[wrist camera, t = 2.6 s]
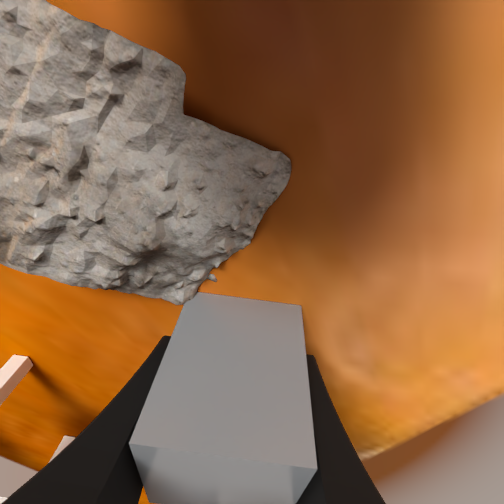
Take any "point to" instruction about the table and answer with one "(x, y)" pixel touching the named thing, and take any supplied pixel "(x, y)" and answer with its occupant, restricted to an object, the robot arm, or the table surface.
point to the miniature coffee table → (8, 379)
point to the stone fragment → (116, 163)
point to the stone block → (229, 407)
